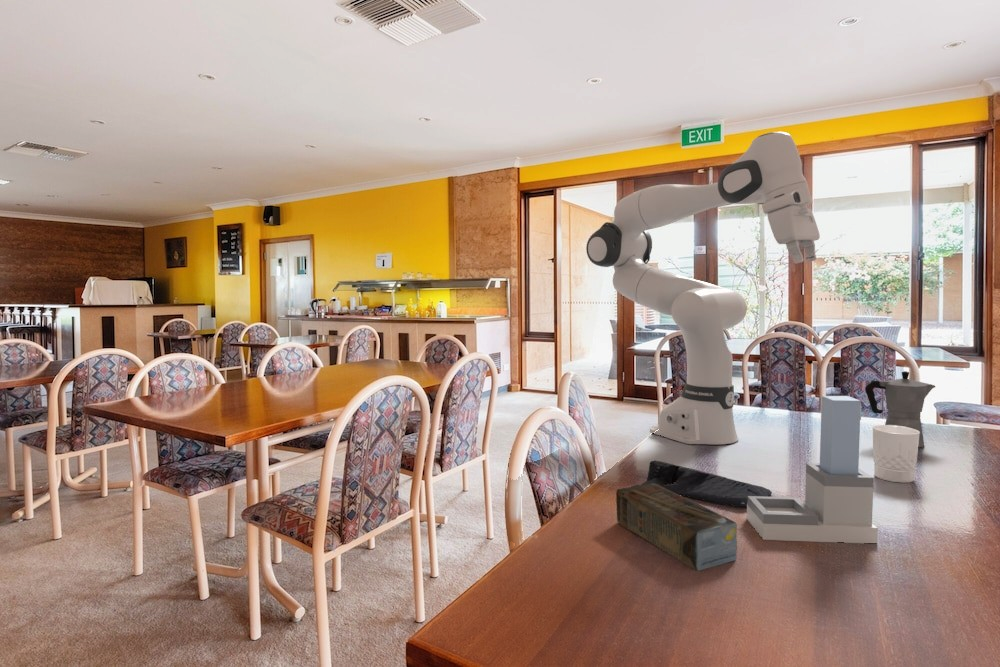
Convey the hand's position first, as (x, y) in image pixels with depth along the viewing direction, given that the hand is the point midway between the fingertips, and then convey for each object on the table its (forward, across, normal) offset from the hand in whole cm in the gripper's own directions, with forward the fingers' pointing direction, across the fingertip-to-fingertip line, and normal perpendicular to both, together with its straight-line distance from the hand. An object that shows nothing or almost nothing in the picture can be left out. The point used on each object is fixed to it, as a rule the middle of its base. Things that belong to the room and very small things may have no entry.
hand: (805, 262), depth 129 cm
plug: (+36, +41, +7) cm, 55 cm away
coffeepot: (+48, -28, +2) cm, 56 cm away
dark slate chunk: (+40, +36, -18) cm, 57 cm away
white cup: (+48, +4, +6) cm, 48 cm away
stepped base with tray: (+44, +44, +2) cm, 62 cm away
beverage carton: (+39, +62, -12) cm, 74 cm away
